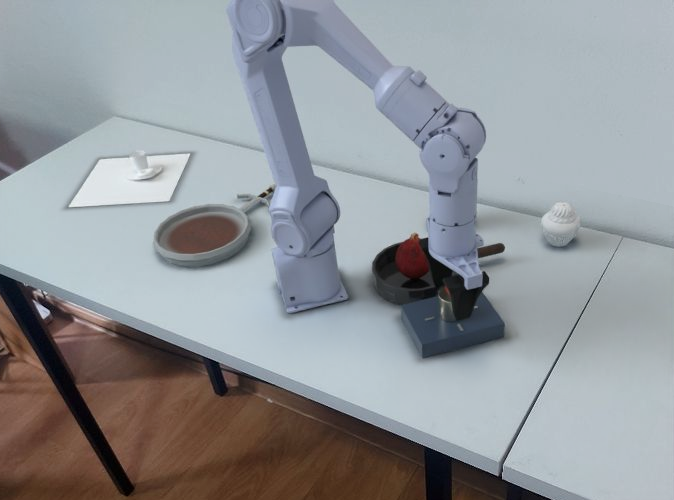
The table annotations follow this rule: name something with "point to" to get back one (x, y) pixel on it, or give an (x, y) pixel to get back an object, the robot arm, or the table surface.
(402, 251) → the red pomegranate
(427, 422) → the table surface
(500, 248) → the skillet handle
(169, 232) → the frying pan
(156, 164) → the teacup and saucer
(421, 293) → the skillet
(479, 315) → the blue control panel
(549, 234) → the muffin
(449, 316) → the knob
